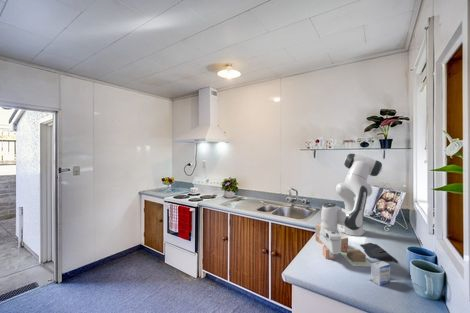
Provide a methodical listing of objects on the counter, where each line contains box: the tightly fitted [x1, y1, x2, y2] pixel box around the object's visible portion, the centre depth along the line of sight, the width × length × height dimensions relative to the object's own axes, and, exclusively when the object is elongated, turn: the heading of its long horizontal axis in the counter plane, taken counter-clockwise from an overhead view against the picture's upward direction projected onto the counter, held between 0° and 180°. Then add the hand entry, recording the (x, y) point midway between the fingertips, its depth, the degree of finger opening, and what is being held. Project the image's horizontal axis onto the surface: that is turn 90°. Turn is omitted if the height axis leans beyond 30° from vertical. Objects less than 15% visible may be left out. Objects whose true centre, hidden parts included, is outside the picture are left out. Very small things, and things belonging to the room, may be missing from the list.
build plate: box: [339, 251, 373, 267], centre depth 126 cm, size 16×12×1 cm
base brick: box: [346, 248, 367, 262], centre depth 126 cm, size 7×7×4 cm
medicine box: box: [370, 260, 391, 286], centre depth 106 cm, size 8×4×9 cm, turn 114°
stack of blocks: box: [315, 222, 349, 252], centre depth 145 cm, size 21×6×12 cm, turn 24°
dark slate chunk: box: [359, 242, 399, 264], centre depth 134 cm, size 15×22×5 cm
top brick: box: [322, 245, 336, 260], centre depth 128 cm, size 5×5×6 cm
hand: (328, 254), depth 128 cm, fingers closed on top brick, 5 cm apart
